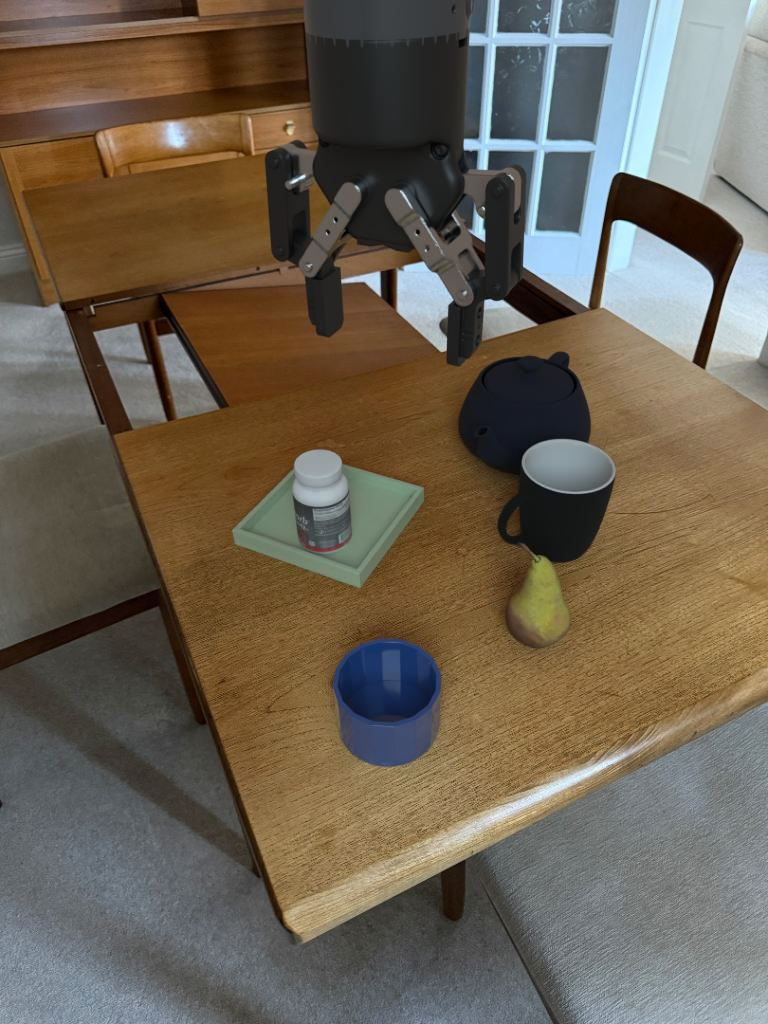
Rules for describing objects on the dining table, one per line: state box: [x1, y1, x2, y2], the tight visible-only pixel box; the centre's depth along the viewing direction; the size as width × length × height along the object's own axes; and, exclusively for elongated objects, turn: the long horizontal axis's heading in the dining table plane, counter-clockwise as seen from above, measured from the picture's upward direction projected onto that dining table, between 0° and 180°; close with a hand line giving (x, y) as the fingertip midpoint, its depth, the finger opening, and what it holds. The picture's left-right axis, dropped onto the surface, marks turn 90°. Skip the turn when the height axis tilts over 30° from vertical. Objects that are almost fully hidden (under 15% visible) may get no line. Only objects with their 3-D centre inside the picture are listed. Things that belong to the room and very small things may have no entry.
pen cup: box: [332, 637, 442, 768], centre depth 60 cm, size 8×8×6 cm
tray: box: [231, 463, 425, 589], centre depth 80 cm, size 15×15×2 cm
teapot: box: [457, 350, 592, 476], centre depth 86 cm, size 25×16×12 cm, turn 148°
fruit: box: [505, 542, 572, 649], centre depth 64 cm, size 6×6×12 cm
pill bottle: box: [292, 449, 352, 554], centre depth 75 cm, size 6×6×10 cm
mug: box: [496, 439, 617, 563], centre depth 74 cm, size 12×9×10 cm
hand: (393, 345), depth 44 cm, fingers open, 8 cm apart
